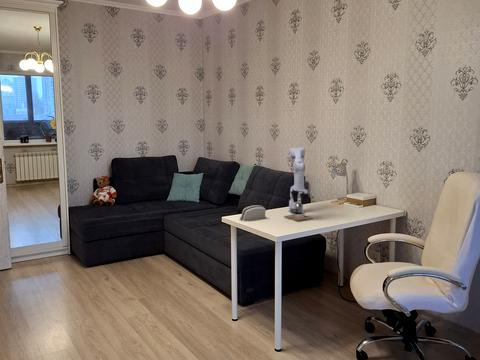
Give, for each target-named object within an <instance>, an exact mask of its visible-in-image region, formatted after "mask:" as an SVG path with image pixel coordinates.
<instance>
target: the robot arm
mask: <svg viewBox="0 0 480 360" xmlns="http://www.w3.org/2000/svg"><path fill="white" fill-rule="evenodd" d="M305 149H306V148H305V147H304V146H303V147H290V148H289V156H290V157H289V158H290V161H291V162H292V163H293V178H294V179H293V180H294V182H293V185H292V186H290V192H289V194H290V195H289V198H290V199H289V201H288V209H289V210H288V212H290V209H291V208H295V204H296V203H301V204H302V212H304V213H306V211H304V205H305V204H306V200H307V198H308V196H309V190H308V189H305V171H306V164H305V162H304V160H305V155H306V150H305ZM290 213H291V212H290Z"/></svg>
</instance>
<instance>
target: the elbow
mask: <svg viewBox="0 0 480 360" xmlns="http://www.w3.org/2000/svg"><path fill="white" fill-rule="evenodd" d="M290 213H291V214H292V213H295V214H302V204H301V203H296V204H295V208H291V209H290Z"/></svg>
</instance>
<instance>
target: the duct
mask: <svg viewBox="0 0 480 360" xmlns="http://www.w3.org/2000/svg"><path fill="white" fill-rule="evenodd" d="M283 217H284V219H287V220H290V221H293V222H298V223H300V222H306V221H312V220H314V217H312V216H307V215H306V212H302V214H295V213H291V214H290V215H289V214H288V215H284V216H283Z"/></svg>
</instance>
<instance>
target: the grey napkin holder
mask: <svg viewBox="0 0 480 360" xmlns="http://www.w3.org/2000/svg"><path fill="white" fill-rule="evenodd" d="M265 218H266V207H264V206H263V205H258V204H257V205H250V206H246V207H244V208H243V210H242V212H241V215H240V216H239V220H240V219H241V221H242V222H247V221H246V220H248V221H253V219H254V220H258V219H265Z"/></svg>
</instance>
